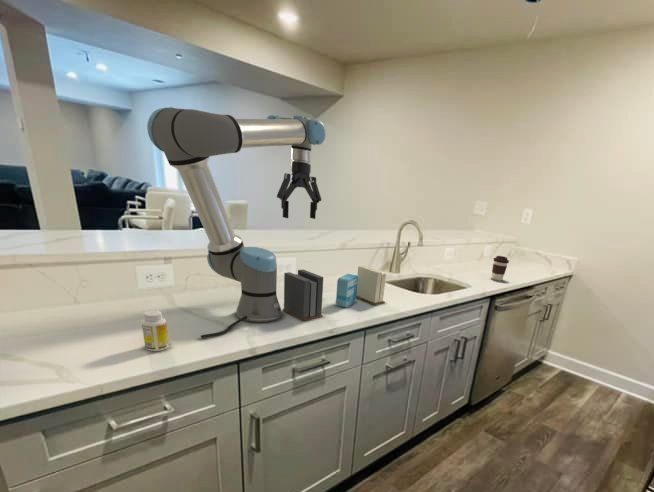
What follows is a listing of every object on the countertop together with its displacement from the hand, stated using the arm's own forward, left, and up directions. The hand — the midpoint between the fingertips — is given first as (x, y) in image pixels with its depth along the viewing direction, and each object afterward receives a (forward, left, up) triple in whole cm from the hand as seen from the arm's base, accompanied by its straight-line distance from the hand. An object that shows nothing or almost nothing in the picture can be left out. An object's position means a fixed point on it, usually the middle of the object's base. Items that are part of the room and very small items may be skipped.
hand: (299, 218), depth 158 cm
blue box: (+8, -23, -32) cm, 40 cm away
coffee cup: (+136, -32, -32) cm, 143 cm away
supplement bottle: (-67, -27, -32) cm, 79 cm away
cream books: (+21, -24, -32) cm, 45 cm away
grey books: (-16, -24, -32) cm, 43 cm away
